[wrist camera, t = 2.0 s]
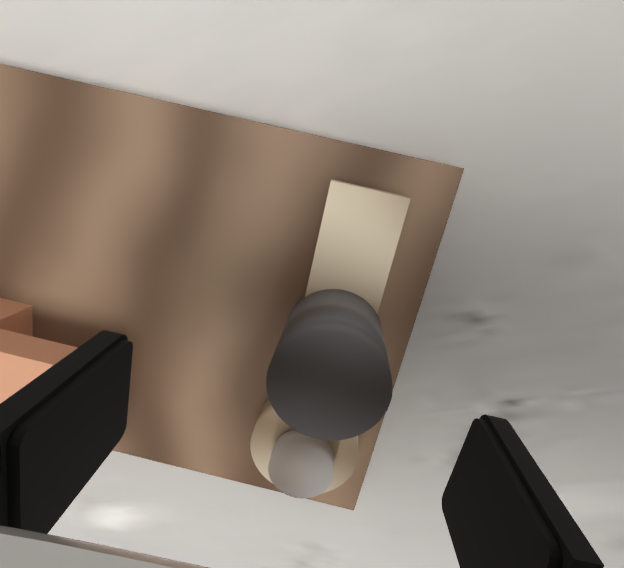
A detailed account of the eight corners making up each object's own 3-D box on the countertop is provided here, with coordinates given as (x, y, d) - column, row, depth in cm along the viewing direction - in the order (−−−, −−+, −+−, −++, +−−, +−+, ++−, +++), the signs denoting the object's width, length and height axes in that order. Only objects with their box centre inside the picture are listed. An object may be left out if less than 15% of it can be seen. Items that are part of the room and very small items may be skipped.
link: (344, 481, 20) (342, 592, 15) (250, 458, 20) (215, 560, 15) (429, 201, 16) (469, 219, 10) (308, 173, 16) (288, 178, 11)
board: (454, 168, 17) (490, 169, 13) (353, 488, 22) (354, 566, 18) (-50, 54, 18) (-184, 17, 13) (-29, 393, 23) (-118, 447, 19)
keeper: (130, 329, 19) (75, 370, 15) (122, 429, 21) (71, 489, 17) (-26, 291, 19) (-119, 322, 15) (-21, 394, 21) (-102, 445, 17)
